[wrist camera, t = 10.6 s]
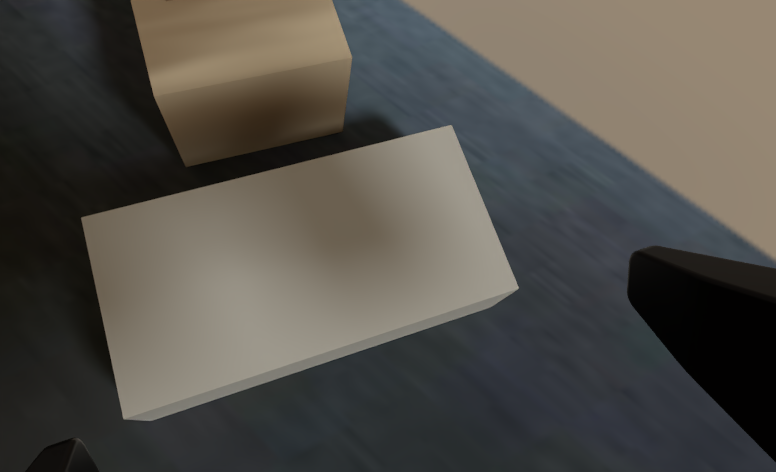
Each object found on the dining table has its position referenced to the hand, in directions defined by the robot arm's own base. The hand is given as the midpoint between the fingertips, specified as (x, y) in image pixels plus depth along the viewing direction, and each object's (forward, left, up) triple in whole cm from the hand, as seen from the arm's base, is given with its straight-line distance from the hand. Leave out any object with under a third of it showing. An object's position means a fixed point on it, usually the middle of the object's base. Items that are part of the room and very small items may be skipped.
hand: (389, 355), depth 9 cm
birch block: (+5, +8, -9) cm, 13 cm away
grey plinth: (+2, +4, -11) cm, 12 cm away
